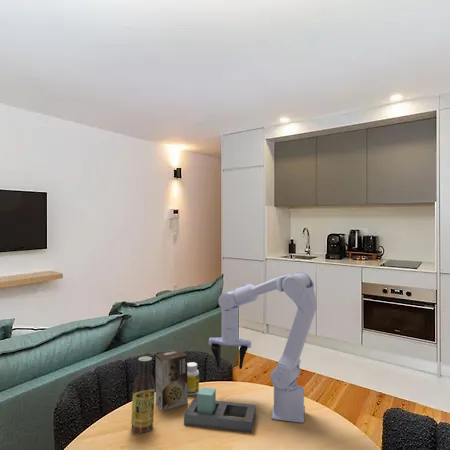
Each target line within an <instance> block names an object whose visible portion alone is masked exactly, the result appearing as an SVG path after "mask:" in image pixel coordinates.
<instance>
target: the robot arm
mask: <svg viewBox="0 0 450 450" xmlns="http://www.w3.org/2000/svg"><path fill="white" fill-rule="evenodd" d="M275 290H276V291H279V292H280V293H283V292H284V293H285V294H286V295H287V297H289V299H291V301H292V302H293V303H294V304H295V305H296V307H297V310H296V314H295V316H294V319H293V322H292V325H291V329H290V332H289V334H288V338H287V340H286V344H285V347H284V350H283V353H282V355H281V357H280V359H278V362H277V364H276V366H275V368H274V369H273V370H272V371H271V372H270V376H269V377H270V381H271V384H272V385H273V404H272V414H271V420H276V421H283V422H293V423H304V421H305V413H306V406H305V391H304V390H305V388H304V386H301V385H298V382H297V379H298V378H299V376H300V373H301V368H300V365H301V363H302V362H301V359H300V357H301V354H302V352H303V349H304V346H305V343H306V340H307V337H308V335H309V331H310V329H311V325H312V323H313V319H314V316H315V314H316V311H317V307H318V303H317V299H316V294H315V293H316V292H315V282H314V281H313V279H311V276H310V275H308V273H307V272H303V271H299V272H296V273H290V274H286V275H281V276H277V277H275V278H272V279H269V280H267V281H264V282H262V283H260V284H257V285H254V284H252V283H248V282H247V283H244V284H243V283H242V284H241V286H239V287H237V288H231V289H230V291H227V292H223V293H221V294H220V295H219V298H218V300H217V301H218V305H219V307H220V308H221V337H209V339H208V345H209V346H211V347H210V349H211V351H212V354H213V356H214V358H215V362H216V366H217V368H219V367H220V366H221V363H222V362H221V351H222V350H221V346H227V347H228V346H231V347H239V349H238V353H239V365H238V366H239V369H240V370H242V368H243V364H244V359H245V355H246V353H247V351H248V349H251V348H252V340H250V339H244V338H240V337H239V308H240V306H243V305H246V304H250V303H252V302H255V301H257V299H258V297H259V295H263V294H266V293H268V292H273V291H275Z"/></svg>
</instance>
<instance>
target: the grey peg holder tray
mask: <svg viewBox="0 0 450 450" xmlns="http://www.w3.org/2000/svg"><path fill="white" fill-rule="evenodd" d="M256 414H257V404H251V403H243V402H242V403H241V402H234V401H233V402H231V401H222V400H216V412H215V414H214V415H213V414H205V413H197V398H195V397H194V398H193V399H192V401H191V402H190V404H189V406H188V407H187V409H186V411H185V412H184V414H183V425H185V426H193V427H199V428H206V429H207V428H208V429H216V430H224V431H231V432H240V433H249V434H252V432H253V429H254V424H255V419H256V416H257V415H256ZM229 415H230V416H229ZM231 415H232V416H231ZM236 416H237V417H236Z"/></svg>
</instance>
